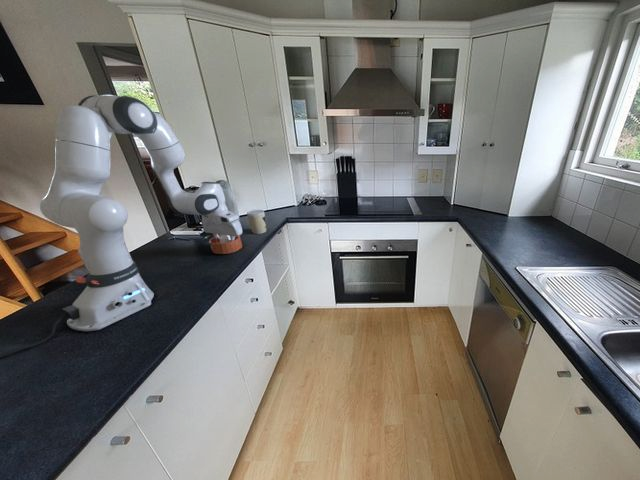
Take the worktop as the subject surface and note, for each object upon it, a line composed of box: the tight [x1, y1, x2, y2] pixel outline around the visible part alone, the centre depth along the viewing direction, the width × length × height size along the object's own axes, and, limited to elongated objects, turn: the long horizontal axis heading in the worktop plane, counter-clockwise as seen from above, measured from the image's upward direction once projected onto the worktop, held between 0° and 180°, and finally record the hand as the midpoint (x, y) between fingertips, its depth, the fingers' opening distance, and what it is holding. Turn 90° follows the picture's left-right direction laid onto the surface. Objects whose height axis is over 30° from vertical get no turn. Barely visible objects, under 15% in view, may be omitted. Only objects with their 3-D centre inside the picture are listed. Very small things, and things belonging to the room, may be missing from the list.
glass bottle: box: [215, 179, 240, 221], centre depth 162 cm, size 10×10×28 cm
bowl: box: [208, 234, 243, 255], centre depth 137 cm, size 14×14×6 cm
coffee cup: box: [246, 209, 267, 235], centre depth 158 cm, size 9×9×12 cm
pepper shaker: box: [219, 234, 231, 243], centre depth 136 cm, size 4×4×10 cm
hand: (225, 242), depth 137 cm, fingers open, 6 cm apart
